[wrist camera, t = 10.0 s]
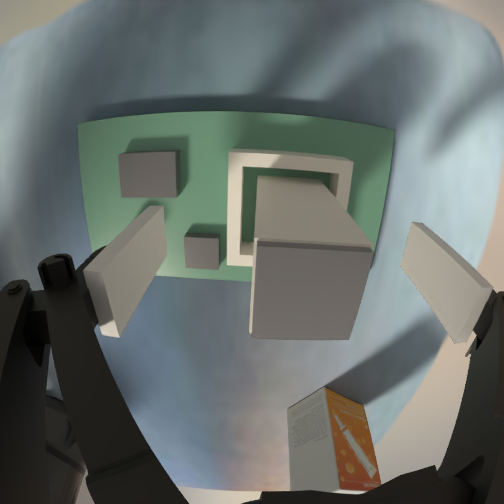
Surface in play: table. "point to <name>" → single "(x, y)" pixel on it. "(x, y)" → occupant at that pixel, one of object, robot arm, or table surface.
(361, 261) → the plug
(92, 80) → the table surface
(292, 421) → the small box
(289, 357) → the table surface
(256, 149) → the board
